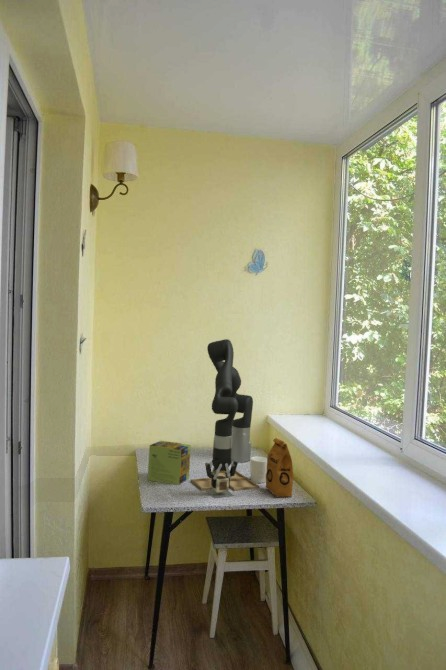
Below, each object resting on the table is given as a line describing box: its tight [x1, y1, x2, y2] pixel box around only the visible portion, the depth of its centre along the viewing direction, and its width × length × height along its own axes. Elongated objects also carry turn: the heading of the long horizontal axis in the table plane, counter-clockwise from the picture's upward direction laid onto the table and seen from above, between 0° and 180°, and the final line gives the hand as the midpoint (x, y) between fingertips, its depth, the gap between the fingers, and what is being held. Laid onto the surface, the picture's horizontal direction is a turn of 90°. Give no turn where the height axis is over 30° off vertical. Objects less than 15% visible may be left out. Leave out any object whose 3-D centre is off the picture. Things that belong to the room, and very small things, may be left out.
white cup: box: [249, 456, 267, 484], centre depth 230 cm, size 8×8×10 cm
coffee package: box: [265, 437, 294, 498], centre depth 216 cm, size 10×12×22 cm
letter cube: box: [212, 475, 230, 493], centre depth 210 cm, size 5×5×5 cm
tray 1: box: [190, 477, 213, 492], centre depth 220 cm, size 12×12×1 cm
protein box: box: [147, 440, 192, 486], centre depth 224 cm, size 10×15×16 cm
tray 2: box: [211, 469, 246, 479], centre depth 233 cm, size 12×12×1 cm
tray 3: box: [229, 476, 260, 492], centre depth 222 cm, size 12×12×1 cm
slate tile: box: [204, 490, 235, 499], centre depth 210 cm, size 9×9×1 cm
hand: (220, 486), depth 210 cm, fingers closed on letter cube, 5 cm apart
